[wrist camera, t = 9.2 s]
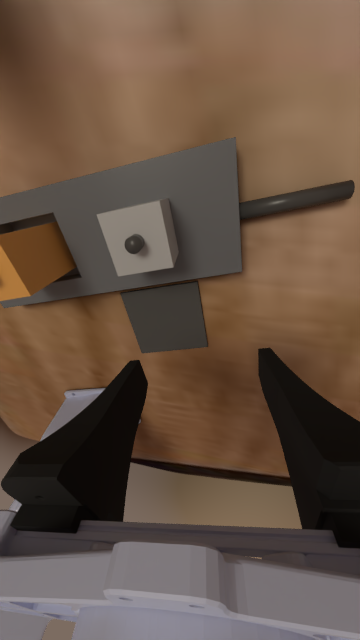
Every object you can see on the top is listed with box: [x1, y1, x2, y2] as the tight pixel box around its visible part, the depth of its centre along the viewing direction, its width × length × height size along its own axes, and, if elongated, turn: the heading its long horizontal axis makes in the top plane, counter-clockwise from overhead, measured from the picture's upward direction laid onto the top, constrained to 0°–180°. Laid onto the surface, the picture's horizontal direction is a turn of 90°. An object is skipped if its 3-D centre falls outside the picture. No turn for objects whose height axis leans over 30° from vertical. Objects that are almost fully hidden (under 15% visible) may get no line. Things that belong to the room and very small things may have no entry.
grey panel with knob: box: [0, 137, 355, 308], centre depth 16 cm, size 32×9×7 cm, turn 101°
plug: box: [0, 222, 77, 301], centre depth 17 cm, size 4×4×8 cm
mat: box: [121, 281, 208, 353], centre depth 24 cm, size 8×8×1 cm
